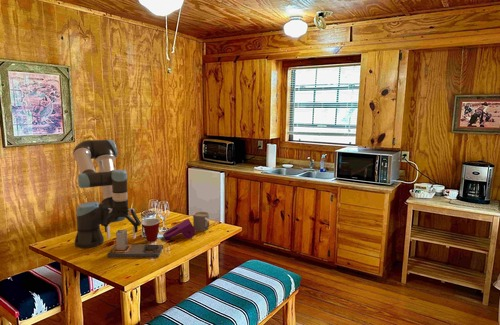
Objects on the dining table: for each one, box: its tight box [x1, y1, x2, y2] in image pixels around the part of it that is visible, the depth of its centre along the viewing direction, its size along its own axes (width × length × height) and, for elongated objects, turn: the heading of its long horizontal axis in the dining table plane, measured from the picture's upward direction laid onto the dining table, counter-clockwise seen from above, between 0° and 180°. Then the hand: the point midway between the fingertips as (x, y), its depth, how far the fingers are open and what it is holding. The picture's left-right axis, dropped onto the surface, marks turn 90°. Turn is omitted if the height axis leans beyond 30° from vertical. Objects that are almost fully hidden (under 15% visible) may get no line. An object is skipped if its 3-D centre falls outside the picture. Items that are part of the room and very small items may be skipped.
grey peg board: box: [107, 244, 164, 258], centre depth 185 cm, size 26×12×2 cm, turn 93°
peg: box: [115, 229, 128, 251], centre depth 183 cm, size 4×4×12 cm
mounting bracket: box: [162, 218, 196, 240], centre depth 209 cm, size 9×8×18 cm
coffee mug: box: [192, 211, 210, 232], centre depth 221 cm, size 13×10×10 cm
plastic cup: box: [140, 217, 161, 243], centre depth 201 cm, size 11×11×12 cm
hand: (121, 238), depth 183 cm, fingers open, 13 cm apart
